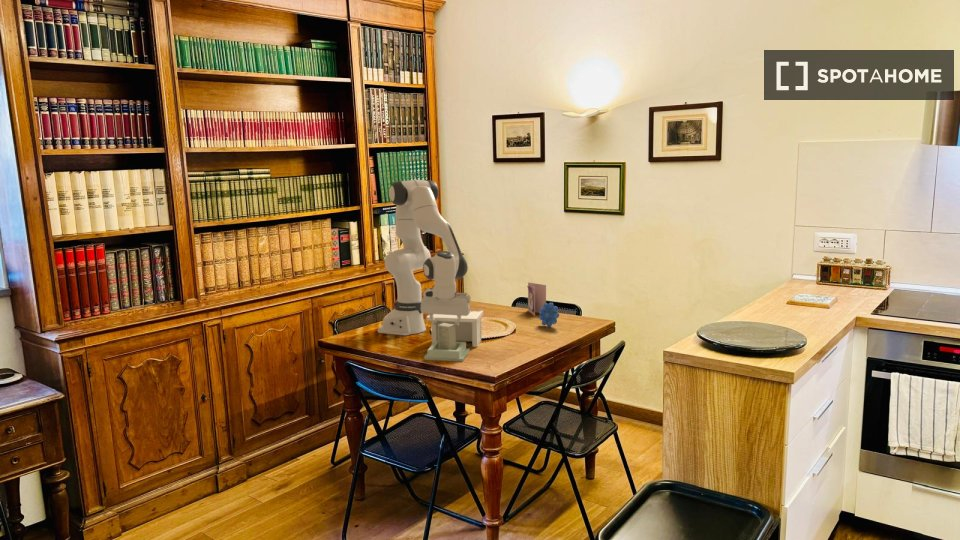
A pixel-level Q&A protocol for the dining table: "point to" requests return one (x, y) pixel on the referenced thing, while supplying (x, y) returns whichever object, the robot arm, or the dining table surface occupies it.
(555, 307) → the grapes
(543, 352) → the dining table surface
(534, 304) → the greeting card
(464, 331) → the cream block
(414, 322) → the robot arm
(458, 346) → the green drawer
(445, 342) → the skincare box
